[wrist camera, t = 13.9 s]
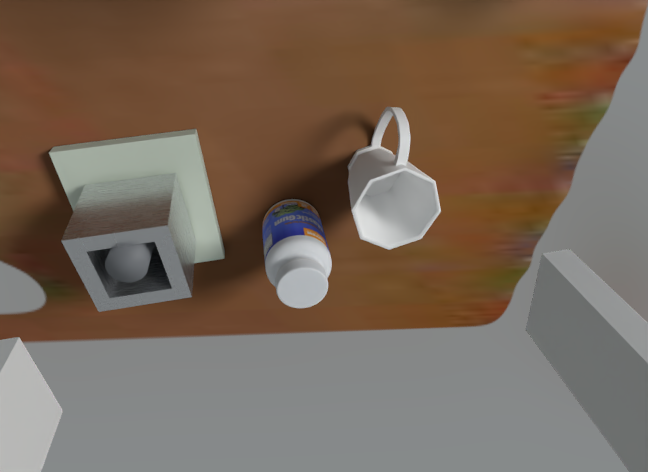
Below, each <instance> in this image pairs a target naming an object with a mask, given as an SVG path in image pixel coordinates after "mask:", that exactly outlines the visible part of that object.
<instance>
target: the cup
mask: <svg viewBox="0 0 648 472" xmlns="http://www.w3.org/2000/svg"><path fill="white" fill-rule="evenodd" d="M392 116H394V118H395V120H396V123H397V127H398V135H399V143H398V149H397V153H396V156H395V155H393V154H392V152H391V151H390V150H387V149H385V148H383V147H381V146H380V145H381V139H382V137H383V134H384V131H385V129H386V127H387V125H388V123H389V121H390V119H391V117H392ZM409 149H410V130H409V123H408V120H407V118H406V115H405V113H404V112H403V110H402V109H401V108H396V107H386V109H385V110H384V111H383V113H382V115H381V117H380V119H379V121H378V123H377V125H376V127H375V130H374V133H373V136H372V141H371V145H370V146H367V147H364V148H361V149H358V150H357V151H356V152H355V154H354V156H353V158H352V159H351V161H350V163H349V164H348V166H347V167H348V170H349V177H348V187H349V194H350V203H351V210H352V214H353V217H354V220H355V223H356V226H357V230H358V233H359V236H360V239H362V240H365V241H368V242H370V243H373V244H375V245H378V246H381V247H383V248H386V249H388V250H390V249H393V248H396V247H399V246H401V245H404V244H407V243H410V242H413V241H416V240H419V239H422V237H423V236H424V234H425V233H426V232H427V230H428V229H429V227H430V226H431V224H432V223H433V222H434V220H435V219H436V217H437V216H438V215H439V213H440V212H441V209H440V204H439V198H438V193H437V187H436V182H435V181H434V180H433V179H432V178H430V177H429V176H427V175H426V174H424V173H423V172H422V171H420V170H419V169H417V168H416V167H415V166H413V165H412V164H411V163H409V162H408V161H407V160H408V155H409Z"/></svg>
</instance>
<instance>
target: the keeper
mask: <svg viewBox="0 0 648 472" xmlns="http://www.w3.org/2000/svg"><path fill="white" fill-rule="evenodd" d="M49 154H50V157H51V159H52V162H53V164H54V166H55V169H56V171H57V173H58V176H59V178H60V181H61V183H62V185H63V188H64V190H65V192H66V195H67V197H68V200H69V202H70V204H71V207H72V209H73V211H74V209H75V207H76V205H77V202H78V200H79V198H80V195H81V193H82V191H83V188H84V186H85V185H89V184H96V183H104V182H111V181H118V180H126V179H133V178H141V177H148V176H155V175H163V174H170V173H176V175H177V178H178V182H179V185H180V189H181V192H182V195H183V199H184V202H185V205H186V209H187V212H188V215H189V219H190V222H191V225H192V229H193V232H194V235H195V239H196V249H195V262H194V263H199V262H206V261H213V260H219V259H224V258H225V250H224V246H223V242H222V237H221V233H220V229H219V225H218V220H217V216H216V212H215V207H214V203H213V199H212V194H211V190H210V186H209V181H208V177H207V173H206V169H205V164H204V160H203V156H202V151H201V147H200V143H199V138H198V134H197V130H196V129H191V130H183V131H175V132H167V133H159V134H151V135H143V136H135V137H127V138H119V139H112V140H104V141H96V142H88V143H80V144H72V145H64V146H56V147H53V148H52V150H51V151H50V152H49ZM154 244H155V242H149V243H142V244H135V245H128V246H122V247H115V248H111V249H110V251H109V254H108V256H107V259H106V261H105V268H106V270H107V272H108V274H109V275H110V276H111V277H113V278H114V279H116V280H118V281H121V282H136V281H138V280H140V279H142V278H143V277H144V276H145V275H146V273H147V271H148V267H149V263H150V259H151V255H152V251H153V248H154Z"/></svg>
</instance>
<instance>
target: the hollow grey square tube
mask: <svg viewBox="0 0 648 472" xmlns="http://www.w3.org/2000/svg"><path fill="white" fill-rule="evenodd" d="M61 242H62V244H63V245H64V247H65V249H66V251H67V253H68V255H69V257H70V259H71V260H72V262H73V264H74V266H75V268H76V270H77V272H78V274H79V276H80V277H81V279H82V281H83V283H84V285H85V287H86V289H87V291H88V292H89V294H90V296H91V298H92V300H93V302H94V304H95V306H96V308H97V309H98V311H99V312H101V311H107V310H113V309H120V308H126V307H132V306H138V305H145V304H151V303H157V302H164V301H170V300H176V299H183V298H189V297H192V289H193V276H194V262H195V249H196V239H195V235H194V232H193V229H192V225H191V222H190V219H189V215H188V212H187V209H186V205H185V202H184V199H183V195H182V192H181V189H180V185H179V182H178V178H177V175H176V173H170V174H163V175H155V176H148V177H141V178H133V179H126V180H118V181H111V182H104V183H96V184H89V185H85V186H84V188H83V191H82V193H81V195H80V198H79V200H78V202H77V205H76V207H75V209H74V212H73V214H72V216H71V219H70V221H69V223H68V226H67V228H66V230H65V233H64V235H63V237H62V240H61ZM149 242H155V244H154V248H153V251H152V255H151V259H150V263H149V267H148V271H147V273H146V275H145V276H144V277H143V278H142V279H140V280H138V281H136V282H121V281H118V280H116V279H114V278H113V277H111V276H110V275H109V274H108V272H107V270H106V268H105V261H106V259H107V256H108V254H109V251H110V249H111V248H115V247H122V246H128V245H135V244H142V243H149Z"/></svg>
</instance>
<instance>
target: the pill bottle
mask: <svg viewBox="0 0 648 472" xmlns="http://www.w3.org/2000/svg"><path fill="white" fill-rule="evenodd" d="M262 230H263V245H264V257H265V268H266V274H267V276H268V278H269V280H270V282H271V283H272V284H273V285H274V286H275V287H276V291H277V295H278V297H279V299H280V300H281V301H282V302H283V303H284V304H286V305H288V306H290V307H294V308H307V307H311V306H313V305H315V304H317V303H318V302H320V301H321V300H322V299H323V298H324V297H325V295H326V293H327V290H328V280H327V278H328V276H329V274H330V271H331V267H332V261H331V256H330V252H329V248H328V245H327V241H326V238H325V234H324V230H323V227H322V223H321V219H320V216H319V214H318V212H317V211H316V209H315V208H314V207H313V206H312V205H310V204H309V203H307V202H305V201H302V200H298V199H287V200H283V201H281V202H278V203H276V204H275V205H273V206H272V207H271V208H270V209H269V210H268V212H267V213H266V215H265V217H264V220H263V227H262Z"/></svg>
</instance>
